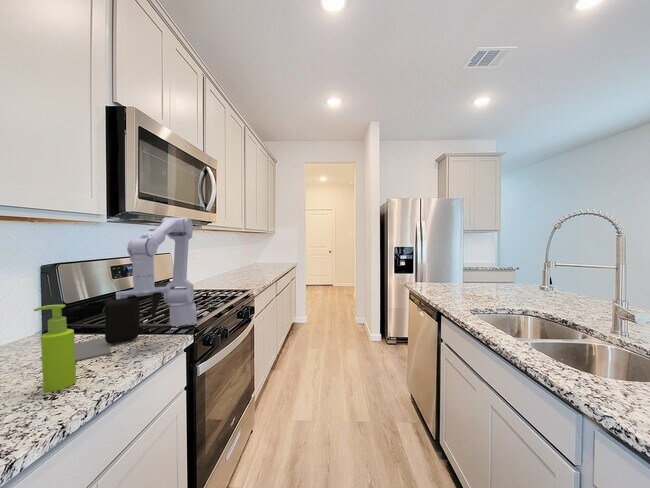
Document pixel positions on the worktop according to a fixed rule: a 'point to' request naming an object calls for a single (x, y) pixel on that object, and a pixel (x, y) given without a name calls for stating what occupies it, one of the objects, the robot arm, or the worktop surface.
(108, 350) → the mat
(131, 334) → the black upright slab
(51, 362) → the soap dispenser
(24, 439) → the worktop surface
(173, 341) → the worktop surface
